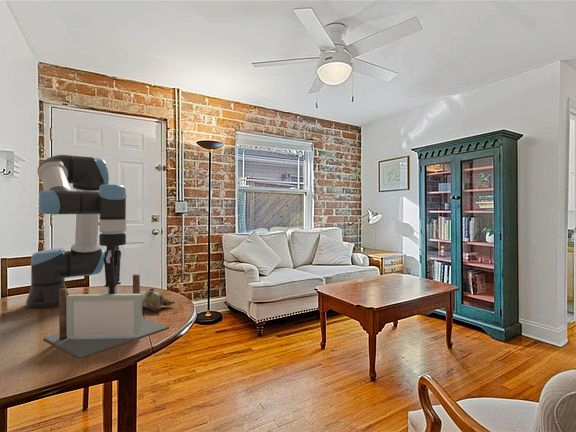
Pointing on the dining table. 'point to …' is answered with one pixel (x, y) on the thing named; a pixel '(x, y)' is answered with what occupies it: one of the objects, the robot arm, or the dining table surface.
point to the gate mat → (101, 340)
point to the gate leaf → (104, 314)
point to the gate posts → (63, 306)
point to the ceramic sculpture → (154, 300)
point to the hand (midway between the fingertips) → (112, 305)
